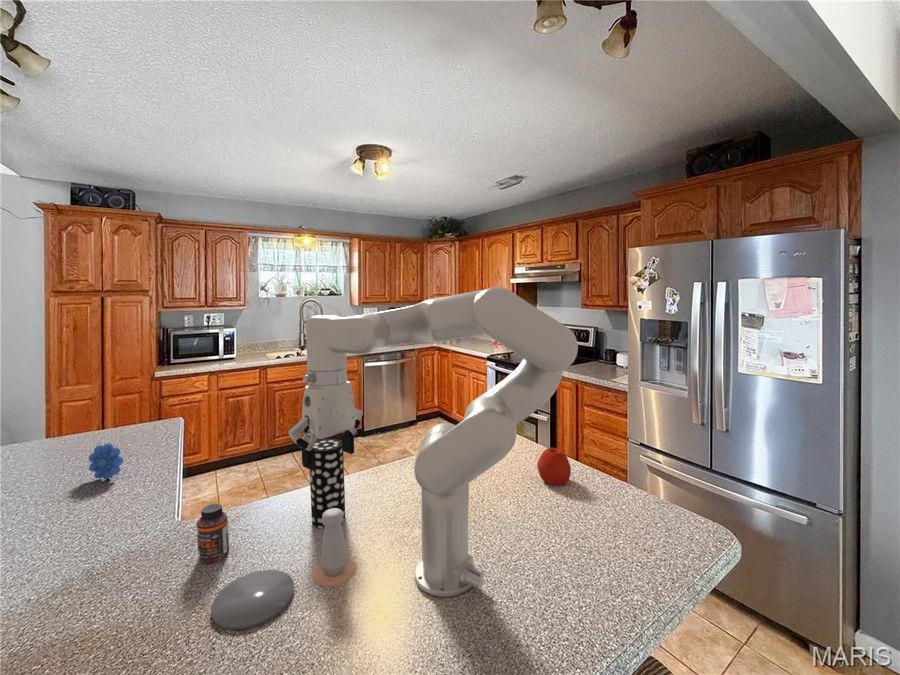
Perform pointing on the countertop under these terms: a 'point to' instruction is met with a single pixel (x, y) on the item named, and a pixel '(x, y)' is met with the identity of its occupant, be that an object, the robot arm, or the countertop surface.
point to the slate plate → (252, 599)
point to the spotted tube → (327, 480)
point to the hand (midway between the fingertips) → (329, 459)
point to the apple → (554, 467)
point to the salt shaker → (333, 543)
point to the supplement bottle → (212, 534)
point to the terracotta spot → (325, 580)
